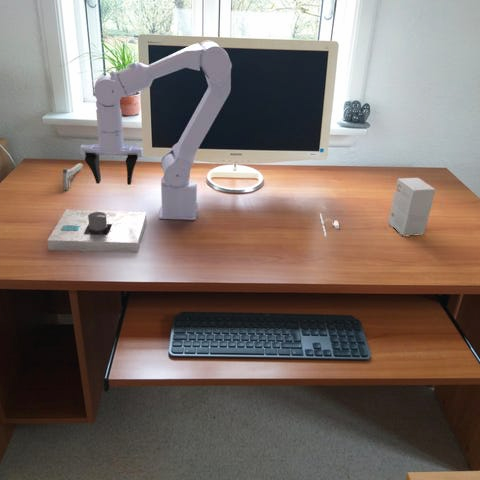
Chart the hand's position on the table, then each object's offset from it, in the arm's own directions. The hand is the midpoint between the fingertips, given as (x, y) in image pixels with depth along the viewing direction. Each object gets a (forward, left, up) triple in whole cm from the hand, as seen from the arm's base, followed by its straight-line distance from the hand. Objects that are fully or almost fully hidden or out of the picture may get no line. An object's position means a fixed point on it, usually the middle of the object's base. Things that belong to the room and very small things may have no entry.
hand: (114, 182), depth 126 cm
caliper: (+17, -25, -10) cm, 32 cm away
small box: (-76, +2, -10) cm, 77 cm away
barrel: (+2, +12, -9) cm, 15 cm away
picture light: (-56, +1, -10) cm, 57 cm away
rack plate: (+2, +10, -9) cm, 14 cm away
